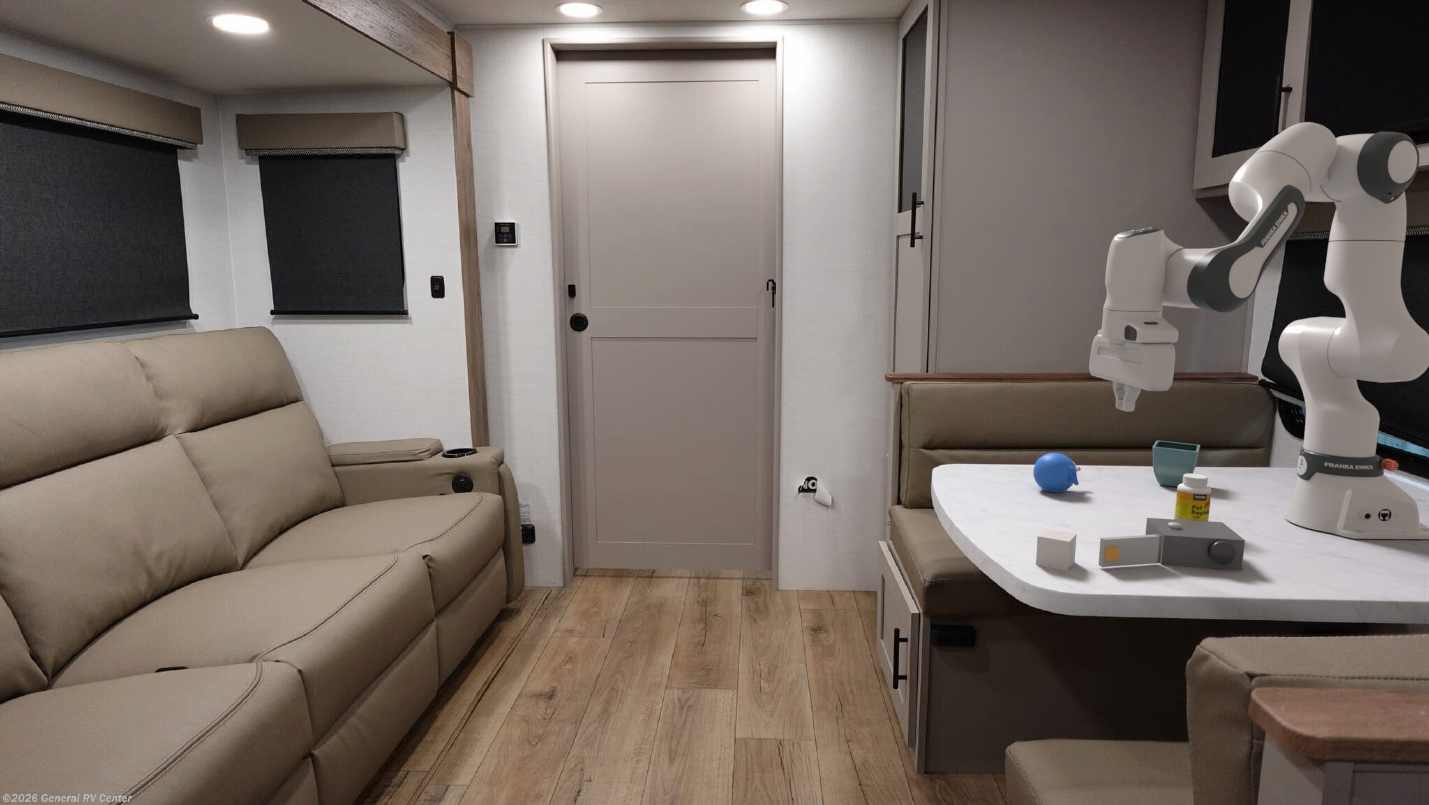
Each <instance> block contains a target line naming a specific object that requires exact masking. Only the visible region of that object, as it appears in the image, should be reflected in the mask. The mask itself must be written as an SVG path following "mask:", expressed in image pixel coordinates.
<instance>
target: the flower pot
mask: <svg viewBox="0 0 1429 805" xmlns="http://www.w3.org/2000/svg"><path fill="white" fill-rule="evenodd" d="M1200 450H1201V445H1200V444H1194V443H1185V442H1184V443H1183V442H1175V441H1168V440H1167V441H1166V440H1156V441H1155V442H1154V444H1153V445H1152V468H1153V474H1154V476H1155V479H1156V482H1157V483H1158V484H1159V485H1161V486H1168V487H1175V488H1176V487H1178V485H1179V484H1182V483H1183V475H1184V474H1194V472H1195V469H1196V467H1197V462H1198V458H1199V453H1200Z"/></svg>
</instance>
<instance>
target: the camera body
mask: <svg viewBox="0 0 1429 805" xmlns="http://www.w3.org/2000/svg"><path fill="white" fill-rule="evenodd" d="M1145 525H1146V527H1145V535H1155V534H1159V535H1162V548H1161V559H1160V563H1159V564H1160V565H1163V566H1165V565H1166V566H1175V567H1176V566H1180V567H1190V568H1191V567H1194V568H1207V569H1208V568H1209V569H1222V570H1223V569H1224V570H1234V571H1235V570H1237V571H1238V570H1239V571H1242V570H1243V560H1244V552H1245V543H1246V539H1244V538H1243V537H1241V536H1240V535H1239V534H1238V533H1236V531H1234V530H1233V529H1232V528H1230V527H1229V526H1227V525H1226V524H1225V523H1224V522H1223V521H1210V520H1208V521H1193V520H1176V519H1173V518H1154V517H1146V524H1145Z"/></svg>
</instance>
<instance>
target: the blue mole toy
mask: <svg viewBox="0 0 1429 805" xmlns="http://www.w3.org/2000/svg"><path fill="white" fill-rule="evenodd" d="M1081 469H1082V468H1081V467H1080V466H1077V464H1076V463H1075V462H1074V461H1073V459H1071V458H1070V457H1068V456H1067V455H1064V454H1062V453H1059V452H1049V453H1046V454H1043V455H1042V456H1040V457H1038V459H1037V460H1036V461H1035V464H1034V466H1033V471H1032V473H1033V478H1034V481H1035V483H1036V484H1037V486H1039V487H1040V488H1041V489H1042V490H1044V491H1046V492H1049V493H1050V492H1051V493H1061V492H1066V491H1067V490H1069V489H1070V488H1071V487H1072V486H1073V485H1075V486H1079V484H1080V482H1079V480H1078V475H1077V473H1078V472H1079V471H1081Z"/></svg>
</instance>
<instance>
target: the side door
mask: <svg viewBox="0 0 1429 805" xmlns="http://www.w3.org/2000/svg"><path fill="white" fill-rule="evenodd" d="M1161 548H1162V535H1159V534H1155V535H1146V534H1141V535H1140V534H1139V535H1126V536H1125V535H1123V536H1110V537H1100V541H1099V556H1098V566H1100V567H1101V568H1110V567H1127V566H1138V565H1153V564H1161V563H1160V559H1161Z"/></svg>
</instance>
